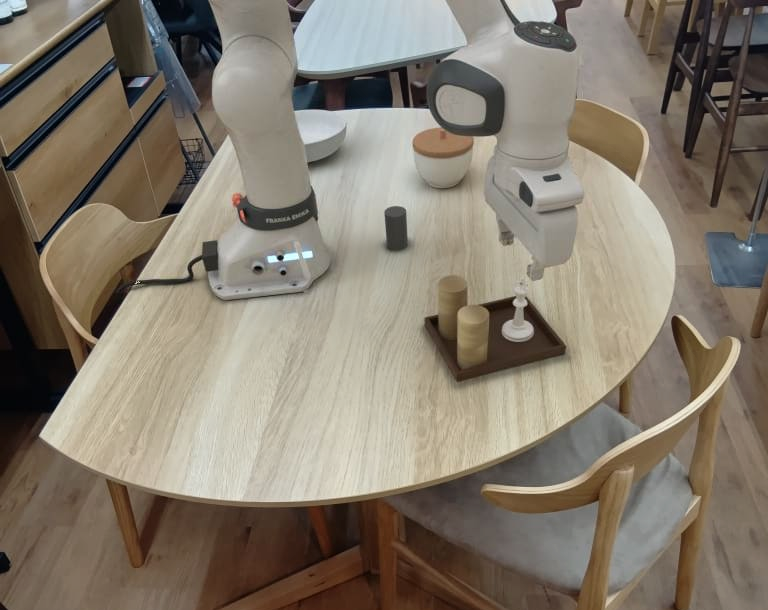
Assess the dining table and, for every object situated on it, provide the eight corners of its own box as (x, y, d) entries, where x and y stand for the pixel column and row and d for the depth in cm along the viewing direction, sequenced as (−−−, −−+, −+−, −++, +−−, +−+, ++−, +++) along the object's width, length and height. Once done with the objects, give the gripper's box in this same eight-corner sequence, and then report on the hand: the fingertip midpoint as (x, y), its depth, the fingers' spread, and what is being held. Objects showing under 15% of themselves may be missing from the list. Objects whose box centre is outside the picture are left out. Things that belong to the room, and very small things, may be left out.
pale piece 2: (463, 375, 97) (464, 326, 91) (452, 357, 100) (452, 308, 94) (491, 368, 98) (494, 319, 92) (479, 350, 101) (481, 301, 95)
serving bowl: (366, 144, 160) (363, 115, 155) (315, 181, 147) (311, 151, 143) (296, 130, 169) (292, 103, 164) (243, 164, 156) (237, 136, 151)
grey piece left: (390, 252, 124) (387, 218, 119) (384, 241, 127) (381, 208, 122) (410, 247, 125) (409, 214, 120) (404, 237, 128) (402, 204, 123)
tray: (456, 385, 97) (456, 374, 95) (424, 328, 107) (424, 317, 105) (564, 357, 100) (566, 346, 98) (523, 305, 110) (524, 293, 108)
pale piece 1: (444, 342, 103) (443, 294, 97) (434, 326, 106) (433, 278, 100) (470, 336, 103) (472, 288, 97) (460, 320, 107) (461, 272, 100)
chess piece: (526, 345, 101) (531, 291, 94) (496, 336, 103) (499, 282, 96) (538, 327, 104) (544, 273, 97) (509, 319, 106) (513, 265, 99)
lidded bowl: (483, 184, 141) (485, 133, 134) (431, 200, 138) (430, 148, 130) (453, 162, 150) (453, 113, 142) (403, 176, 146) (401, 126, 139)
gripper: (475, 138, 92) (471, 228, 101) (542, 207, 77) (530, 304, 87) (518, 131, 93) (509, 220, 102) (592, 197, 78) (574, 294, 88)
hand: (519, 259), depth 94 cm, fingers open, 8 cm apart
